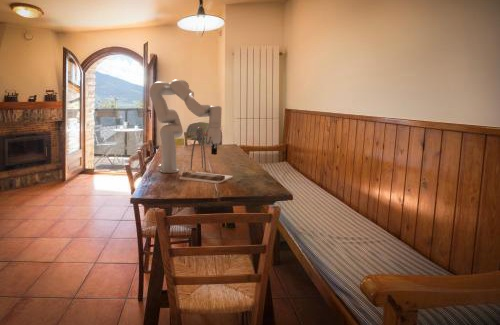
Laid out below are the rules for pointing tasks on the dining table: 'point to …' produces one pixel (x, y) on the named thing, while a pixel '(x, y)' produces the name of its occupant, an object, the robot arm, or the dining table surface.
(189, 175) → the tongs base
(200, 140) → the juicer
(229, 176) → the board
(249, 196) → the dining table surface
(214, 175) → the tongs arm
